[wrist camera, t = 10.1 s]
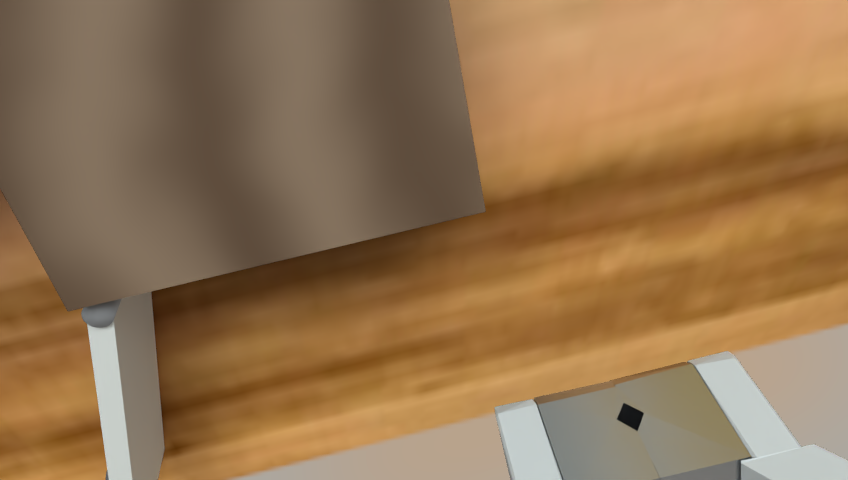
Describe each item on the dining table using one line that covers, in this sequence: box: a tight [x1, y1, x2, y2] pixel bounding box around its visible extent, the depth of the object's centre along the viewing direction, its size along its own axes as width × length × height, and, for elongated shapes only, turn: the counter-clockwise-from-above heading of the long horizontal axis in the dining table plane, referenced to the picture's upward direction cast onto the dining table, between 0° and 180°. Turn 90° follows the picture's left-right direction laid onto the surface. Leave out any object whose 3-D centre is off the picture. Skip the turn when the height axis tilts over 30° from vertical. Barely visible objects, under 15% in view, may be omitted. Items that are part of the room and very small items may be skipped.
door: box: [81, 292, 165, 480], centre depth 36 cm, size 15×2×7 cm, turn 174°
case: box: [0, 0, 486, 311], centre depth 28 cm, size 16×13×8 cm
